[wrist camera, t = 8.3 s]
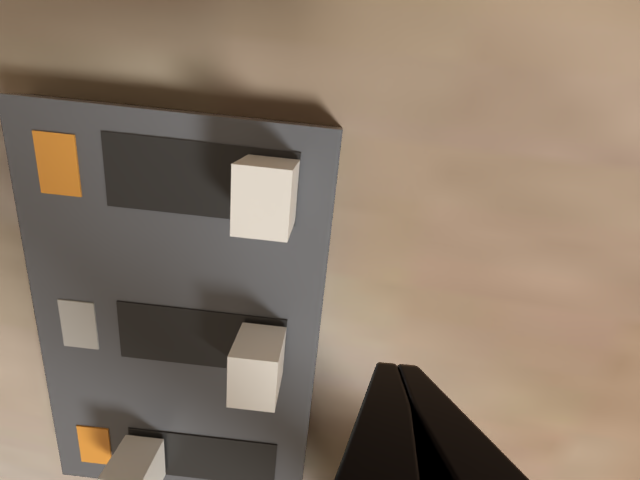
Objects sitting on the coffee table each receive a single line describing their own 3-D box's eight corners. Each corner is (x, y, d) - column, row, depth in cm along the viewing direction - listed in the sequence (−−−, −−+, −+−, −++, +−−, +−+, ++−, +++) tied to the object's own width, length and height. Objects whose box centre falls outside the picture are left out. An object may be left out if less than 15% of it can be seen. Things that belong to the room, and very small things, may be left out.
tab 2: (295, 221, 19) (287, 242, 16) (246, 216, 19) (229, 236, 16) (300, 159, 18) (292, 170, 15) (248, 154, 18) (231, 163, 15)
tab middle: (282, 372, 22) (274, 413, 19) (240, 367, 22) (226, 407, 19) (286, 327, 21) (278, 362, 18) (242, 322, 21) (227, 356, 18)
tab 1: (165, 474, 25) (143, 521, 22) (128, 470, 25) (102, 517, 22) (163, 439, 24) (140, 484, 21) (125, 434, 24) (97, 479, 21)
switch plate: (302, 474, 27) (299, 503, 25) (81, 449, 28) (61, 475, 26) (342, 127, 19) (342, 130, 17) (29, 93, 19) (-6, 93, 17)
